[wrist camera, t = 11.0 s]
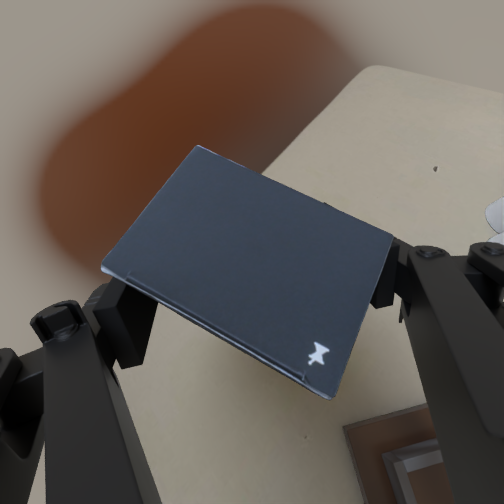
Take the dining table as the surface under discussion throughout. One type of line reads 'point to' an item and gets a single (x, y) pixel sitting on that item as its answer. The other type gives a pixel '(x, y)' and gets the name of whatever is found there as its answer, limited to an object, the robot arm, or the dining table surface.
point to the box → (256, 266)
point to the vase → (496, 219)
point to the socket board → (399, 459)
